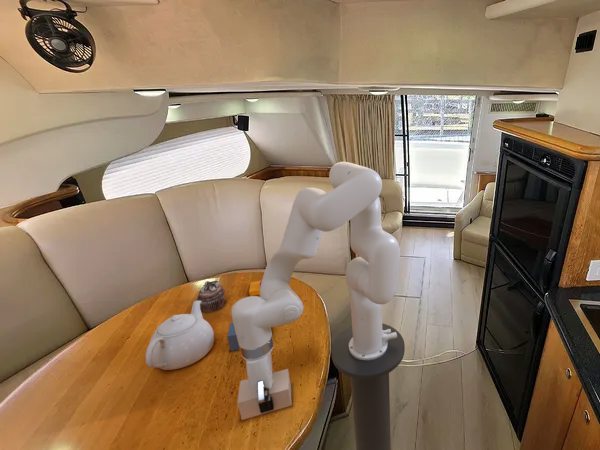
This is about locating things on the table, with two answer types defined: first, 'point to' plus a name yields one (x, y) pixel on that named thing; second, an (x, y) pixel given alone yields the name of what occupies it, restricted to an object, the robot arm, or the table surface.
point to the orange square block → (255, 288)
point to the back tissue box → (232, 338)
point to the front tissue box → (277, 392)
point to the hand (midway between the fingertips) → (267, 396)
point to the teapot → (180, 341)
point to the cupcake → (211, 296)
